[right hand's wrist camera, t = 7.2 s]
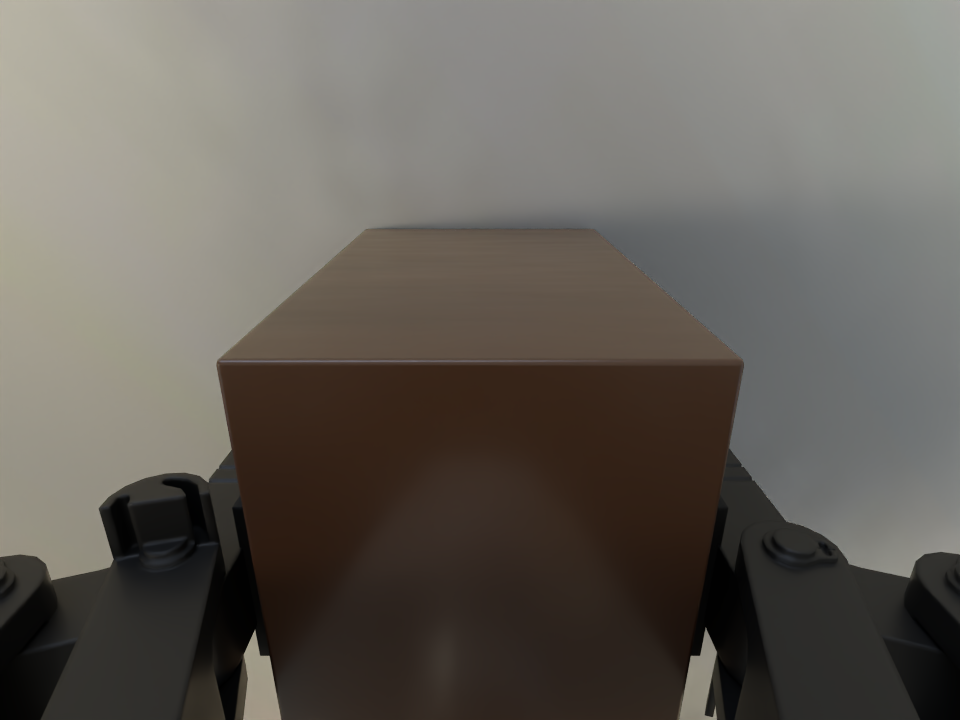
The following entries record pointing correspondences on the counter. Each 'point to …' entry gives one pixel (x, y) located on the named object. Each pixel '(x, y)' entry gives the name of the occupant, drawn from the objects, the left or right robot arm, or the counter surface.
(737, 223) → the counter surface
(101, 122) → the counter surface
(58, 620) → the right robot arm
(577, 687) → the plank
